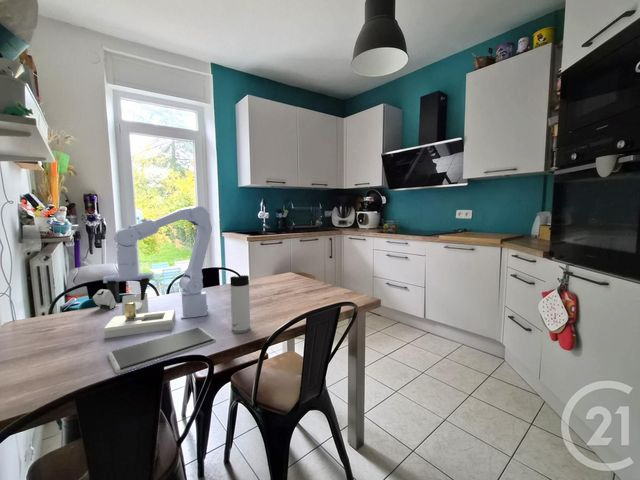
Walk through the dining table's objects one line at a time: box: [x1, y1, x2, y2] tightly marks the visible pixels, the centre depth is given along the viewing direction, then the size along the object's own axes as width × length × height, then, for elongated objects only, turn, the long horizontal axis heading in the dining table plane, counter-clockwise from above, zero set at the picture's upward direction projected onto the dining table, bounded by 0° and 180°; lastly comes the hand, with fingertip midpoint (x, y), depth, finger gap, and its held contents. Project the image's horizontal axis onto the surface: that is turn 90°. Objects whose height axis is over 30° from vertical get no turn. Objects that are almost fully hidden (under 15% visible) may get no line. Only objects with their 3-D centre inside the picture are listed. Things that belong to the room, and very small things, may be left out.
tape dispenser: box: [92, 288, 118, 310], centre depth 124 cm, size 6×7×10 cm
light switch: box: [121, 292, 149, 316], centre depth 114 cm, size 8×6×14 cm
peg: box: [124, 302, 136, 321], centre depth 102 cm, size 5×5×10 cm
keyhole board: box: [103, 309, 176, 339], centre depth 103 cm, size 20×11×4 cm, turn 111°
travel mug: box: [229, 274, 251, 334], centre depth 101 cm, size 6×7×20 cm
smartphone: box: [107, 327, 216, 374], centre depth 88 cm, size 13×27×2 cm, turn 135°
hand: (130, 300), depth 101 cm, fingers open, 7 cm apart
